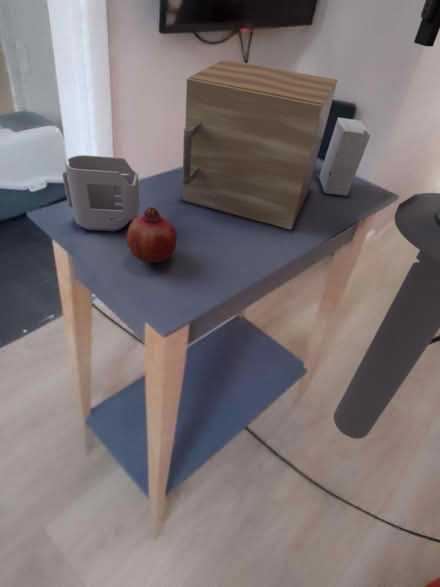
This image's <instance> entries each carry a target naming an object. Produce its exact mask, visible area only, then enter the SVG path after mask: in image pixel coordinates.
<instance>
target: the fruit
mask: <svg viewBox="0 0 440 587" xmlns="http://www.w3.org/2000/svg"><path fill="white" fill-rule="evenodd" d="M177 235H178V234H177V231H176V229H175V227H174V226H173V225H172V224H171V222H170V221H169V220H168V219H167V218H166V217H164V216H162V215H160V213H159V211H158V209H157V208H155V207H154V208H153V206H148V208H145V211H144V212H143V214H141V215H139V216H137V217H136V218H134V219H132V222H130V224H129V226H128V229H127V232H126V239H125V241H126V246H127V247H128V249H129V251H130V252H131V254H132V256H133V257H135V258H136V259H137V260H139V261H141V262H143V263H145V264H146V263H147V264H152V263H153V264H154V263H161V262H164V261H166V260H168V259H170V257H172V255H173V254H174V252H175V250H176V248H177V247H176V246H177V245H176V244H177V240H178V236H177Z"/></svg>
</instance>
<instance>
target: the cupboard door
mask: <svg viewBox="0 0 440 587" xmlns="http://www.w3.org/2000/svg"><path fill="white" fill-rule="evenodd" d="M185 94H186V95H185V97H186V98H185V126H184V128H183V143H182V144H183V146H182V147H183V149H182V180H181V181H182V182H181V183H182V185H183V195H182V200H183V202H187V203H190V204H195V205H198V206H201V207H206V208H209V209H213V210H215V211H219V212H224V213H227V214H231V215H236V216H239V217H243V218H246V219H249V220H253V221H258V222H260V223H264V224H268V225H272V226H275V227H279V228H283V229H287V230H289V231H291V230H293V227H294V225H293V222H294V218H295V214H296V210H297V206H298V202H299V198H300V194H301V190H302V186H303V182H304V178H305V174H306V170H307V166H308V162H309V158H310V154H311V150H312V146H313V142H314V138H315V134H316V130H317V126H318V122H319V118H320V114H321V110H322V105H321V104H316V103H311V102H306V101H301V100H296V99H291V98H286V97H281V96H276V95H271V94H266V93H261V92H256V91H251V90H246V89H241V88H236V87H231V86H226V85H221V84H216V83H211V82H206V81H201V80H196V79H191V78H189V77H188V78H187V79H186V93H185ZM292 226H293V227H292Z"/></svg>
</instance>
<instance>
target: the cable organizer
mask: <svg viewBox="0 0 440 587" xmlns="http://www.w3.org/2000/svg"><path fill="white" fill-rule="evenodd" d="M67 162H68V163H64V167H65V170H63V172H62V181H63V185H64V191H65V195H66V196H65V197H66V201H67V206H68V208H70V209H72V211H73V216H74V222H75V223H76V224H77V225H79V226H80V227H82V228H83V229H85V230H91V231H105V232H116V231H120V230H122V229H123V228H124V227H125V226H126V225H128V224H129V222H130V220H134V219H135V218H137V217H138V214H139V209H140V204H141V203H140V202H141V201H140V186H139V185H140V184H139V174H138V172H136V171H135V170H134V169H132V167H131V166H130V164H129V163H128V161H127V160H126V159H125V157H115V156H114V157H113V156H102V155H101V156H100V155H87V154H86V155H84V154H81V155H74V156H71V157H69V158H67Z"/></svg>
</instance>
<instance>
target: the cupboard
mask: <svg viewBox="0 0 440 587" xmlns="http://www.w3.org/2000/svg"><path fill="white" fill-rule="evenodd" d="M188 78H191V79H196V80H201V81H206V82H211V83H216V84H221V85H226V86H231V87H236V88H241V89H246V90H251V91H256V92H261V93H266V94H271V95H276V96H281V97H286V98H291V99H296V100H301V101H306V102H311V103H316V104H321V105H322V110H321V114H320V118H319V122H318V126H317V130H316V134H315V138H314V142H313V146H312V150H311V154H310V158H309V162H308V166H307V170H306V174H305V178H304V182H303V186H302V190H301V194H300V198H299V202H298V206H297V210H296V214H295V218H294V222H293V226H292V228H293V227H294V225H295V222H296V220H297V218H298V215H299V213H300V212H301V209H302V207H303V204H304V202H305V200H306V199H307V198H306V197H307V195H308V193H309V191H310V186H311V184H312V179H313V175H314V172H315V167H316V164H317V160H318V157H319V156H318V155H319V152H320V148H321V145H322V141H323V138H324V135H325V130H326V126H327V123H328V118H329V114H330V110H331V107H332V103H333V100H334V95H335V92H336V88H337V84H338V79H336V78H335V79H333V78H329V77H324V76H317V75H313V74H307V73H302V72H296V71H291V70H285V69H280V68H275V67H271V66H264V65H258V64H254V63H249V62H243V61H238V60H232V59H226V58H224V59H222V60H219V61H218V62H216V63H214V64H212V65H210V66H208V67H206V68H203V69H202V70H200V71H198V72H195V73H194V74H192V75H191V76H189V77H188Z"/></svg>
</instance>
